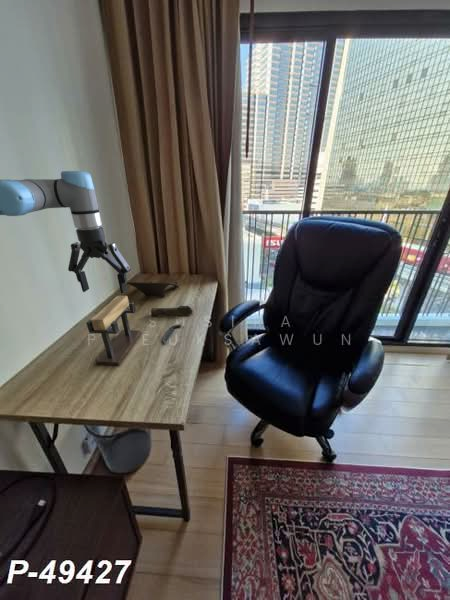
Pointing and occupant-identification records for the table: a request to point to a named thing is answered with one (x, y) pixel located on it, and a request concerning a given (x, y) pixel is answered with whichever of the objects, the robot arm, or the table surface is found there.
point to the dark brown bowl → (152, 288)
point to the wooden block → (110, 313)
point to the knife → (170, 333)
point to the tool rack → (116, 340)
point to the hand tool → (172, 311)
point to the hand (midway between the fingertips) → (104, 290)
